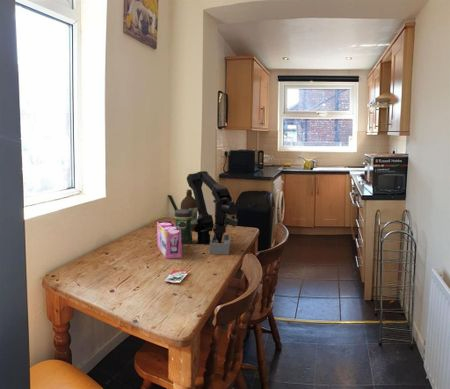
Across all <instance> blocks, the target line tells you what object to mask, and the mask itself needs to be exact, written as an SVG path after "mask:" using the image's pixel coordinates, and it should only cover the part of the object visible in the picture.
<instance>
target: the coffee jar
mask: <svg viewBox="0 0 450 389" xmlns="http://www.w3.org/2000/svg"><path fill="white" fill-rule="evenodd" d="M173 217H174V221H175V225H176V226H177V227H178V228H179V229H180V230H181V245H184V244H185V245H187V244H190V243H192V242H193V234H192V233H193V231H191V219H192V212H191V210H187V209H181V208H180V209H179V208H178V209H176V210H175V211H174V216H173Z"/></svg>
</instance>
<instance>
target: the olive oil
mask: <svg viewBox="0 0 450 389" xmlns="http://www.w3.org/2000/svg"><path fill="white" fill-rule="evenodd" d="M180 209H187V210H191V212H192V219H191V231H192V232H195V229H194V228H195V226H196V225H197V219H198V210H197V206H196V201H195V197H193V190H192V189H191V188H190V189H186V195H185V197H184V198H183V199H182V200H181V201H180Z"/></svg>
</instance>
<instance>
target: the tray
mask: <svg viewBox="0 0 450 389" xmlns="http://www.w3.org/2000/svg"><path fill="white" fill-rule="evenodd" d="M230 248H231V234H224V243H217V238H216V236H215V233H214V234H212V235H211V238H210V242H209V255H229V254H230Z"/></svg>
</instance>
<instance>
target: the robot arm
mask: <svg viewBox="0 0 450 389" xmlns="http://www.w3.org/2000/svg"><path fill="white" fill-rule="evenodd" d="M186 182H187V184H188V187H189V188H190V190H192V194H193V196H194V197H193V198H194V199H195V201H196V206H197V210H198V212H197V225H196V226H195V228H194V229H195V231H194V232H195V233H197V242H196V243H197V244H205V245H208V244H209V245H210V241H211V233H210V232H213V233H214V234H215V236H216V238H217V240H218V243H221V241H222V236H223V234H224V235H225V234H226V231H227V227H228V226H231V227H234V228H235V227H236V225H237V224H238V219H237V218H236V216H235V215H236V214H237V212H238V210H239V209H238V205H237V204H236V203H235V200H234V201H233V199H232V196H231V194H230V192H229V189H228V188H227V187H226V186H224V185H222V184H219V183H218V182H216V180H215V179H214V178H213V177H212V176H211V175H210V174H209V172H208V171H206V170H201V171H198V172H194V173H189V174H188V175H187V177H186ZM203 184H205V186H207V188H209V190H210V191H211V195H212V196H213V198H214V199H213V201H212V203H215V204H214V205H215V206H214V210H215V212H214V213H215V214H214V218H215V219H213V215H212V214H209V213H208V208H207V204H206V201H205V197H204V193H203V190H202V189H203ZM229 215H230V216H229Z"/></svg>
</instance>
